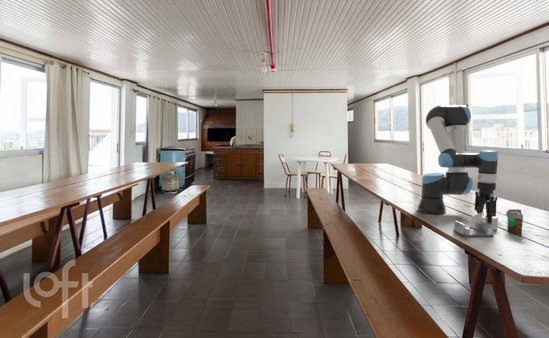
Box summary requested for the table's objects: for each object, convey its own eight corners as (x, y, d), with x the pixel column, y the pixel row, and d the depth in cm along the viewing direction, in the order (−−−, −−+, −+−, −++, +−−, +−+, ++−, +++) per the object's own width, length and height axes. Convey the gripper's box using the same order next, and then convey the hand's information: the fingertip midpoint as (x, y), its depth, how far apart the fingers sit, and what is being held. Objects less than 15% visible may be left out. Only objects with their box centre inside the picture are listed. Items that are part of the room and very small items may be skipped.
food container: (504, 227, 158) (505, 207, 157) (519, 229, 154) (521, 209, 153) (505, 233, 148) (506, 213, 147) (521, 236, 144) (523, 215, 143)
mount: (463, 237, 144) (464, 225, 143) (453, 230, 153) (453, 220, 152) (493, 236, 144) (494, 225, 143) (481, 230, 153) (482, 219, 152)
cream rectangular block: (474, 229, 155) (475, 217, 154) (470, 226, 160) (471, 214, 159) (497, 230, 153) (498, 218, 153) (492, 227, 158) (492, 215, 157)
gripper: (467, 179, 163) (465, 222, 166) (491, 185, 145) (488, 233, 148) (482, 178, 163) (479, 222, 166) (507, 184, 145) (504, 233, 147)
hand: (483, 227), depth 157 cm, fingers closed on cream rectangular block, 5 cm apart
